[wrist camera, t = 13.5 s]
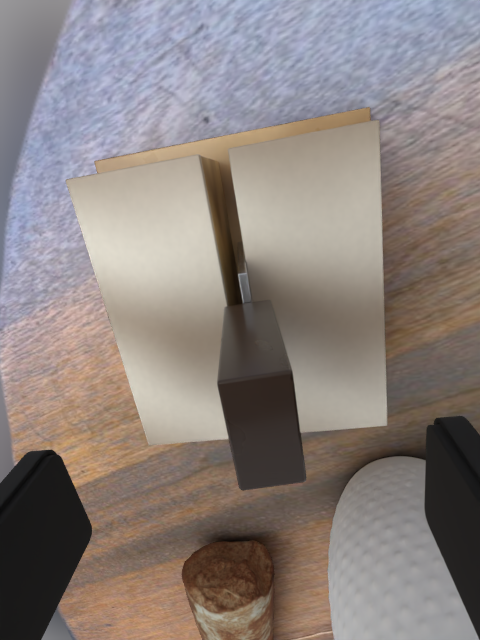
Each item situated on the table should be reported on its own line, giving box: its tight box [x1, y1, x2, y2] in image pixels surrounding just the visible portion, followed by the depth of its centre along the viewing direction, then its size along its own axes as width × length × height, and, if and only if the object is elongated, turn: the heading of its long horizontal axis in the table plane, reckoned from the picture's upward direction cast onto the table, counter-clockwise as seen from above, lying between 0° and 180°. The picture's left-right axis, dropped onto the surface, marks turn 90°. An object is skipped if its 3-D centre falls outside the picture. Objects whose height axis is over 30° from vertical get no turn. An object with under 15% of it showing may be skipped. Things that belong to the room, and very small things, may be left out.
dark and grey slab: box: [217, 241, 306, 490], centre depth 14 cm, size 5×2×12 cm, turn 9°
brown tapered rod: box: [182, 540, 274, 640], centre depth 28 cm, size 6×19×6 cm, turn 3°
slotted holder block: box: [66, 107, 387, 445], centre depth 17 cm, size 14×13×6 cm
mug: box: [328, 456, 479, 640], centre depth 18 cm, size 15×11×13 cm
